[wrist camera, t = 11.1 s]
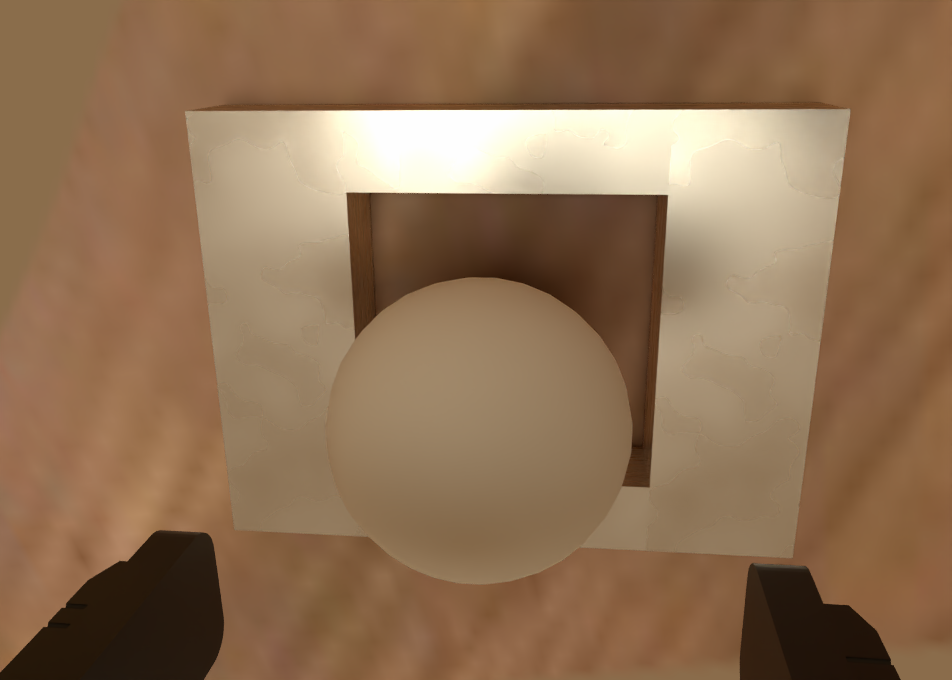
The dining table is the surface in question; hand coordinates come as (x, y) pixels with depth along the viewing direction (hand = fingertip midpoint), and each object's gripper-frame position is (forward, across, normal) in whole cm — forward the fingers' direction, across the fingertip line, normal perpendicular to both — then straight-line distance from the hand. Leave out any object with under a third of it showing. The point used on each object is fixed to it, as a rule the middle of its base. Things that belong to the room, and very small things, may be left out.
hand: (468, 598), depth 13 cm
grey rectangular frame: (+13, 0, 0) cm, 13 cm away
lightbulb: (+13, +1, 0) cm, 13 cm away
